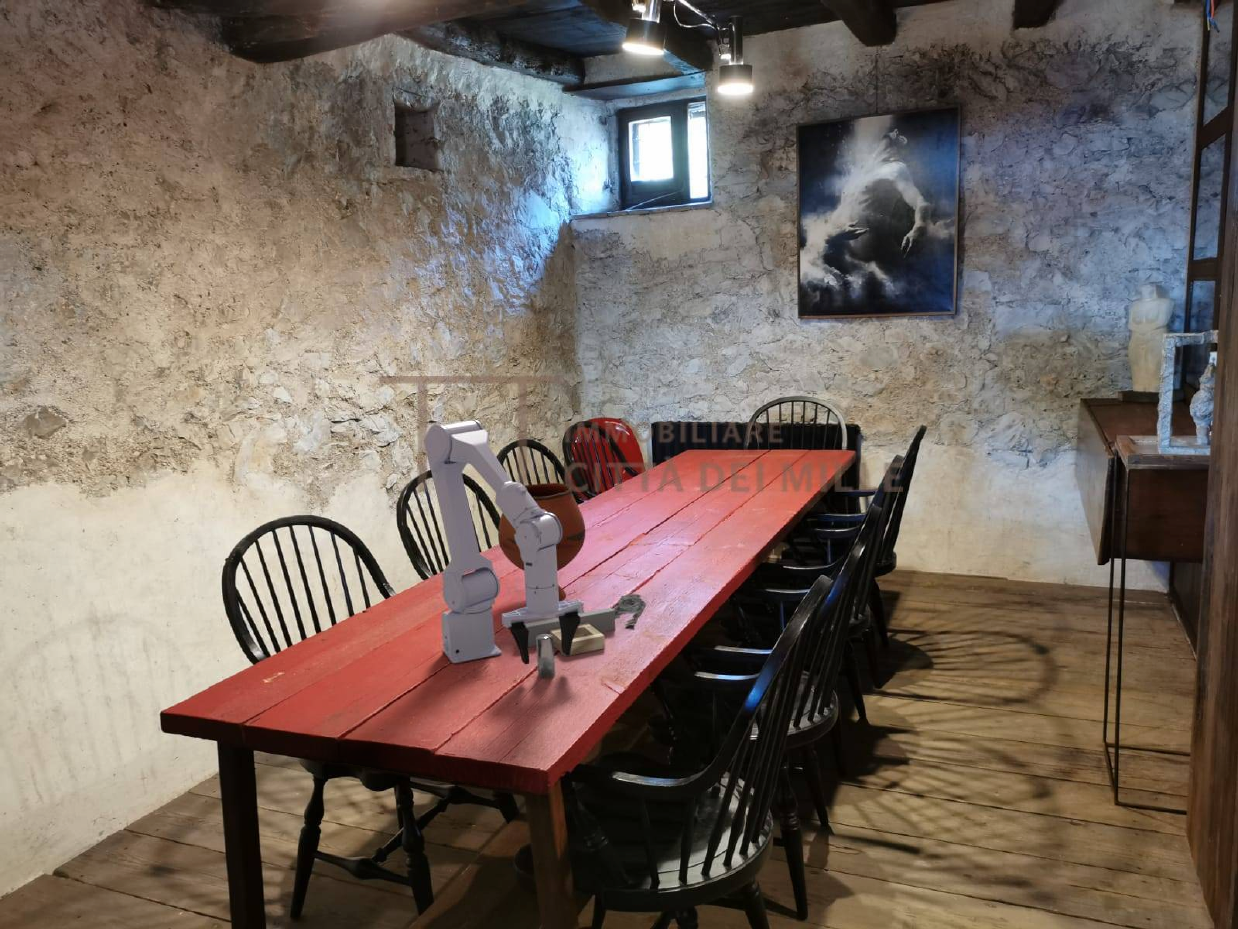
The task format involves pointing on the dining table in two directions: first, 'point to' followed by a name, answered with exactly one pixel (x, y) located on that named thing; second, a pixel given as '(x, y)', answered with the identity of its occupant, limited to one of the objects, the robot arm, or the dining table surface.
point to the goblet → (567, 512)
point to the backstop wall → (597, 619)
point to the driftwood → (630, 607)
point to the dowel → (545, 655)
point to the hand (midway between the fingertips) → (545, 658)
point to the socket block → (581, 639)
